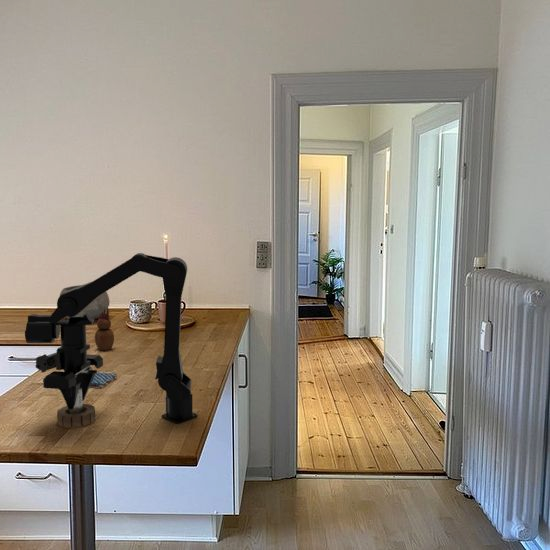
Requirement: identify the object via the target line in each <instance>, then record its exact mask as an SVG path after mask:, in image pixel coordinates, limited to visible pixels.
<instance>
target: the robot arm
mask: <svg viewBox="0 0 550 550" xmlns="http://www.w3.org/2000/svg"><path fill="white" fill-rule="evenodd" d="M140 272H141V273H146V274H148V275H152V276H155V277H158V278H162V283H163V289H164V290H163V291H164V293H165V313H164V314H165V316H164V317H165V318H164V319H165V321H164V342H163V343H164V344H163V346H164V347H163V348H164V349H163V356H162V355H161V356H160V355H157V359H156V362H155V366H156V374H155V378H154V379H155V380H157V382H158V386H159V387H160V388H161V390H163V391H165V394H166V396H165V412H164V413H163V414H161V418H163V419H166V420H168V421H171V422H173V423H175V424H181V423H184V422H187V421H188V420H191V419H194V418H196V417H198V413H196V412H193V394H192V390H191V389H192V388H191V387H192V379H191V378H190V377H189V376H188V375H187V374H186V373H185V372H184V367H183V362H182V355H181V351H180V344H181V342H180V341H181V319H182V297H183V296H182V295H183V291H184V286H185V282H186V278H187V274H188V273H187V272H188V265H187V263H186V261H185V260H184V259H182V258H181V257H176V256H175V257H170V258H165V257H160V256H154V255H149V254H145V253H143V252H138V253H136V254H134V255H133V256H132V257H131V258H129V259H127V260H126V261H124V262H123V263H121V264H119V265H117V266H116V267H113V269H111V270H109V271H107V272H105V273H104V274H102V275H101V276H99V277H97V278H95V279H94V280H92V281H90V282H87V283H84V284H80V285H81V286H78V285H77V286H78V287H75V288H73V289H70V290H68V291H67V292H65V293H64V294H62V295H61V296H60V295H59V296H60V297H58V298H57V300H56V308H55V309H54V311H53V312H51V314H35V313H33V314H32V313H31V314H29V315H28V316H27V322H26V325H25V331H24V337H25V342H26V343H27V344H53V343H54V342H55V341H56V339H59V338H60V347H58V348H57V349H56V352H53V353H51V354H48V355H47V354H45V353H43V354H42V355H39V356H37V357H36V358H35V368H36V369H37V370H39V371H41V373H45V372H47V371H50V370H52V369H55V370H54V371H51V372H50V373H48V374H47V375H45V376H44V378H43V379H42V387H43V388H44V389H55V390H59V391H60V393H61V394H62V397H63V399H64V402H65V404H66V406H68V409H73V408H74V405H75V402H76V398H77V394H78V390H79V387H81V388H82V402H84V401H85V398H86V396H87V394H88V391H89V389H90V388H91V387H90V385H91V383H92V380H93V378H94V376H95V374H96V373H97V372H98V370H96V369H101V368H102V367H103V366H104V358H103V357H102V356H101V355H100V354H88V350H90V349H91V344H90V343H89V344H88V343H87V327H86V326H87V325H88V326H90V325H92V324H93V323H94V322H95V319H93V318H92V317H90V316H89V315H88V313H86V314H85V315H84V316H83V317H73V316H75V315H77V314H78V313H80V312H81V311H82V310H83V309H84V308H85V307H87V306H88V305H89V304H90V303H91V302H92V301H93V300H94V299H96V298H97V297H98V296H99V295H101V294H103V293H104V292H108V291H110V289H113V288H115V287H116V286H118V285H119V284H121V283H123V282H124V281H125V280H128V279H129V278H131V277H132V276H134V275H136V274H137V273H140ZM66 316H68V317H70V319H65V320H64V318H65V317H66ZM92 366H94V368H96V369H93V368H92ZM62 370H63V371H62Z"/></svg>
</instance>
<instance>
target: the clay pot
mask: <svg viewBox="0 0 550 550" xmlns="http://www.w3.org/2000/svg"><path fill="white" fill-rule="evenodd" d="M81 285H82V284H79V285H72V286H71V285H70V286H67V287H64V288H63V289H61V292H60V294H59V297H60V296H61V295H62V294H64V293H65V292H67V291H68V290H70V289H73V288H75V287H78V286H81ZM59 297H58V298H59ZM109 306H110V296H109V294H108V291H106V292H104V293H103V294H101V295H99V296H98V297H97V298H96V299H94V300H93V301H92V302H91V303H90V304H89V305H88V306H87V307H85V308H84V309H83V310H82V311H81V312H80V313H78V314H77V315H75V316H73V317H83V316H84V315H85V314H86V313H88V315H89V316H90V317H92V318H93V319H94V320H95V319H97V318H98V319H99V316H100V314H102V312H103V313H104V309H105V313H107V309H109ZM64 318H65V319H66V320H69V319H70V317H68V316H66V317H64Z"/></svg>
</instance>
